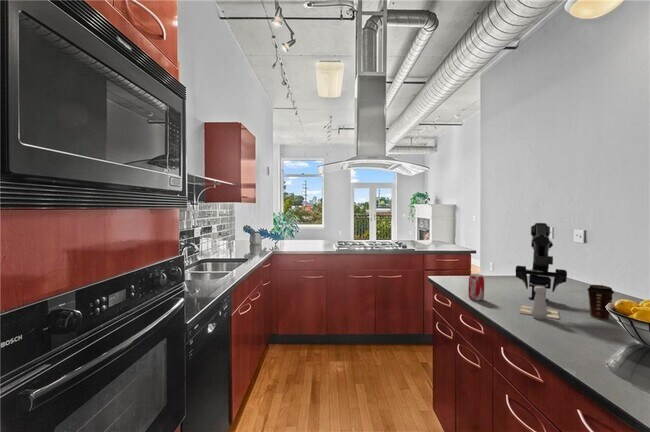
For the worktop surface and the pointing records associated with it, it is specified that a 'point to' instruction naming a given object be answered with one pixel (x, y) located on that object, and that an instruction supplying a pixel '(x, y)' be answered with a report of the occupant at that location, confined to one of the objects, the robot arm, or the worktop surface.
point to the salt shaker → (539, 303)
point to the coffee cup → (599, 301)
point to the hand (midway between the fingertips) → (539, 290)
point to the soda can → (476, 287)
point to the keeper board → (551, 312)
